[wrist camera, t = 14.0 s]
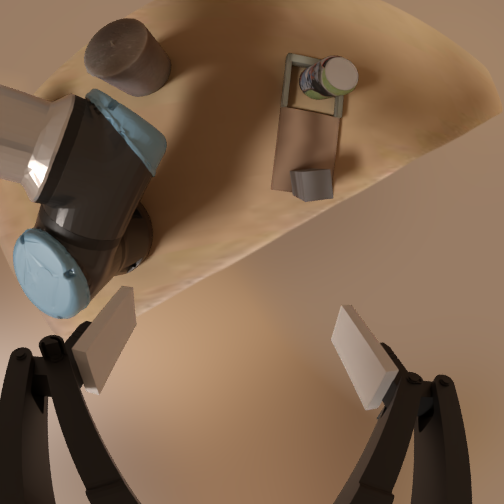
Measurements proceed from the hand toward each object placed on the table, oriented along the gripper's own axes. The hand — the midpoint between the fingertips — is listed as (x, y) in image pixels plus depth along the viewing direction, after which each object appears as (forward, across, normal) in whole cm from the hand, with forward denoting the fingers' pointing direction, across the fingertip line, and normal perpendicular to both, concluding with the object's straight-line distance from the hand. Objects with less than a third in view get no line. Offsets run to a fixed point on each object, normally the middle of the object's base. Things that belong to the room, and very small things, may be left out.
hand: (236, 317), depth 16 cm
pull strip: (+31, +10, +17) cm, 37 cm away
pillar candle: (+31, -19, +25) cm, 44 cm away
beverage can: (+31, +11, +25) cm, 41 cm away
